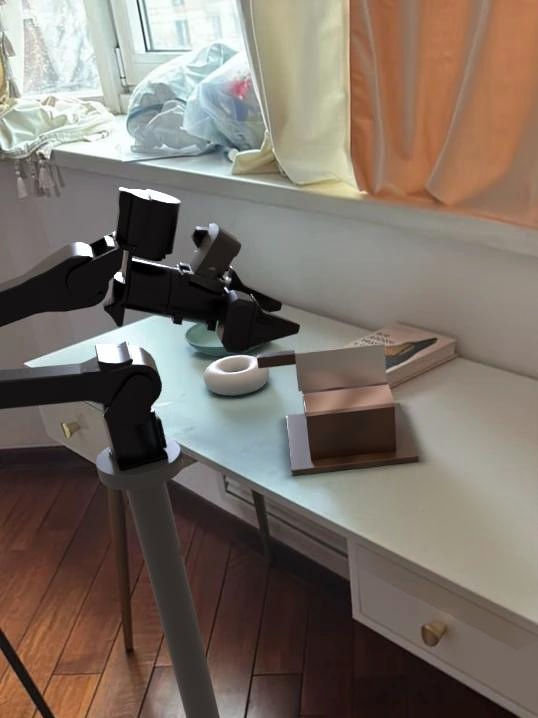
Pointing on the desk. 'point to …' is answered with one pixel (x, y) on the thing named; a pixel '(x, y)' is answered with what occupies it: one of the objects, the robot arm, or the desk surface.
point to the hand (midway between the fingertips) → (289, 317)
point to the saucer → (207, 341)
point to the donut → (235, 375)
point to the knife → (332, 366)
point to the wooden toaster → (349, 430)
